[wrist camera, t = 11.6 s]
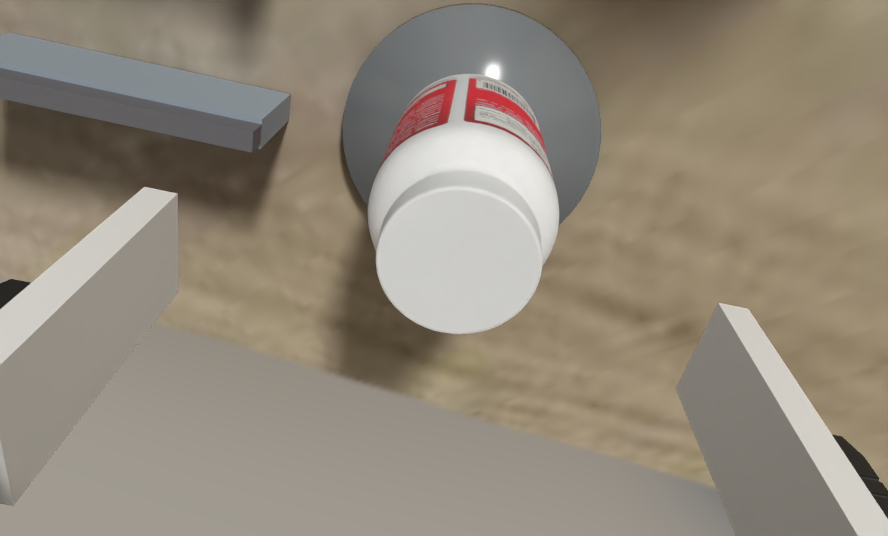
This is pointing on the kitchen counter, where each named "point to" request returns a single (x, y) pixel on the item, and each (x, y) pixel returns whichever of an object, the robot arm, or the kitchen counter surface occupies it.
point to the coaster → (486, 53)
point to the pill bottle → (463, 206)
